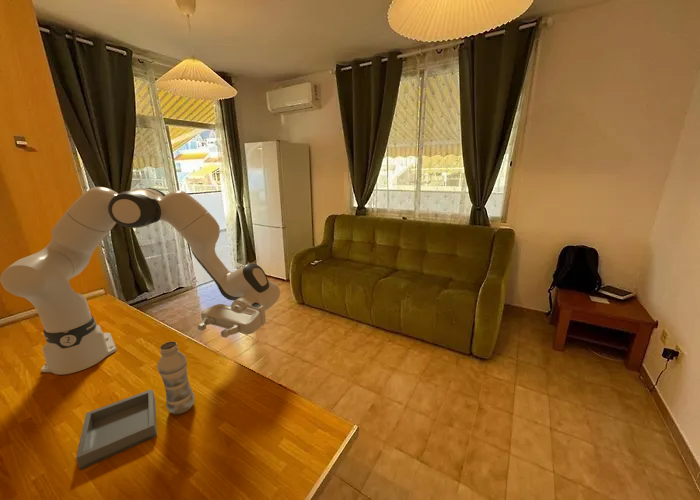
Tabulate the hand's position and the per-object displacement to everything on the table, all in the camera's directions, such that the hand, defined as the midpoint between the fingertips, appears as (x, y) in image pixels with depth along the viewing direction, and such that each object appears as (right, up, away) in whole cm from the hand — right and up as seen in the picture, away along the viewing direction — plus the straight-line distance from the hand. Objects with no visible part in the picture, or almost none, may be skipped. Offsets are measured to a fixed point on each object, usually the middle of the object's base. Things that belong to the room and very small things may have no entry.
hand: (210, 331), depth 83 cm
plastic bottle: (-5, -19, -6) cm, 21 cm away
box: (-16, -21, -12) cm, 29 cm away
